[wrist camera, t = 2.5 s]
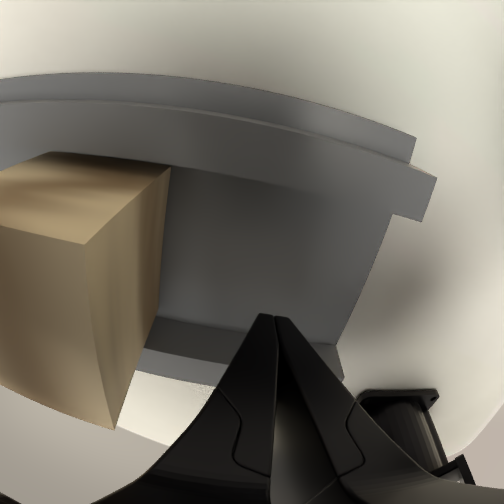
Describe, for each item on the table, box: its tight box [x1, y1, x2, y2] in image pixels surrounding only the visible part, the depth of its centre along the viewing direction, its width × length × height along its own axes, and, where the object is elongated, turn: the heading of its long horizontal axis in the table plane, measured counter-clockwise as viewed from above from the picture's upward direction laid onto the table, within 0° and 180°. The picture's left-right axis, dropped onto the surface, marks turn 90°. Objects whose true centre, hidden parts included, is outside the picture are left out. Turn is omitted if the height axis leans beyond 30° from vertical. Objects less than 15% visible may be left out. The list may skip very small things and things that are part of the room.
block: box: [0, 151, 171, 430], centre depth 8 cm, size 5×6×6 cm
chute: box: [0, 73, 437, 387], centre depth 11 cm, size 20×12×3 cm, turn 78°
